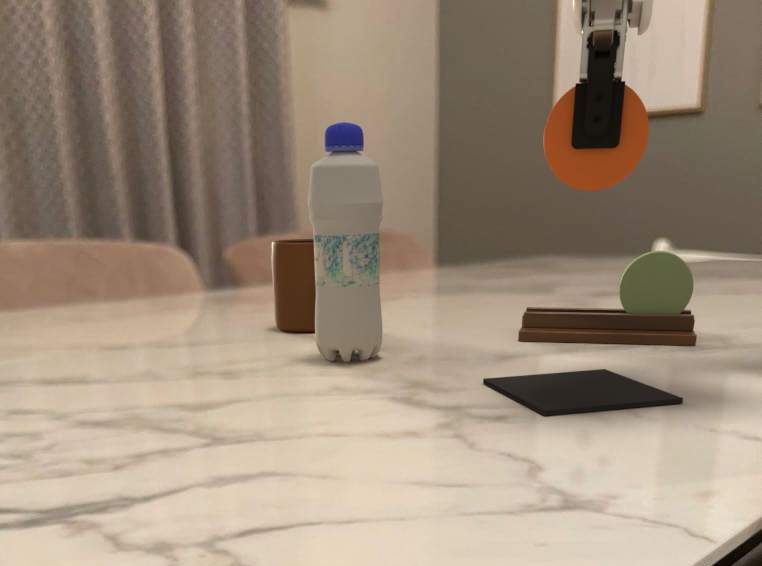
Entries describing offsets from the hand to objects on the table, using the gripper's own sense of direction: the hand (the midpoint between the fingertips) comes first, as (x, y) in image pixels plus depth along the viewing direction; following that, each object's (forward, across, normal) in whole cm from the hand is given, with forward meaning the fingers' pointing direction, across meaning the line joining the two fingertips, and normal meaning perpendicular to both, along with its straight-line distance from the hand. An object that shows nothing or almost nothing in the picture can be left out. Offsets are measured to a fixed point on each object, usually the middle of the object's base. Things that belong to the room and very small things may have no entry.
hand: (595, 146), depth 59 cm
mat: (+17, -1, 0) cm, 17 cm away
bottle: (+17, +10, +21) cm, 29 cm away
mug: (+17, +27, +28) cm, 43 cm away
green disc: (+16, +26, -7) cm, 31 cm away
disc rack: (+17, +26, -2) cm, 31 cm away
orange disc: (+3, 0, 0) cm, 3 cm away
